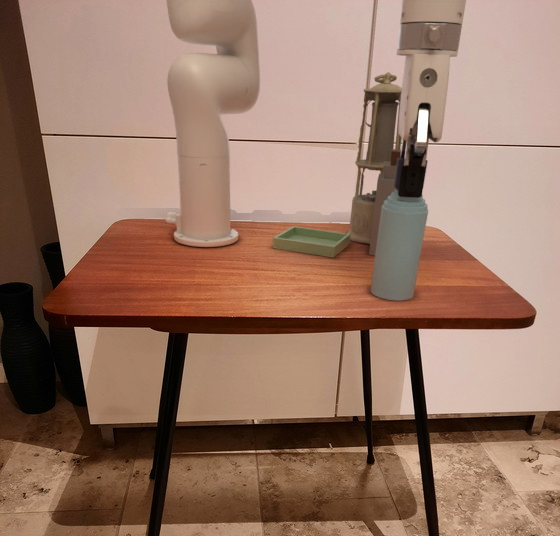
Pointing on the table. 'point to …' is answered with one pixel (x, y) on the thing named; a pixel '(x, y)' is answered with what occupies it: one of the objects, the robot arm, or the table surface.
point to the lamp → (375, 151)
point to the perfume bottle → (383, 195)
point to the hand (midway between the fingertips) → (407, 192)
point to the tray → (312, 241)
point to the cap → (398, 170)
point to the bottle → (399, 247)
